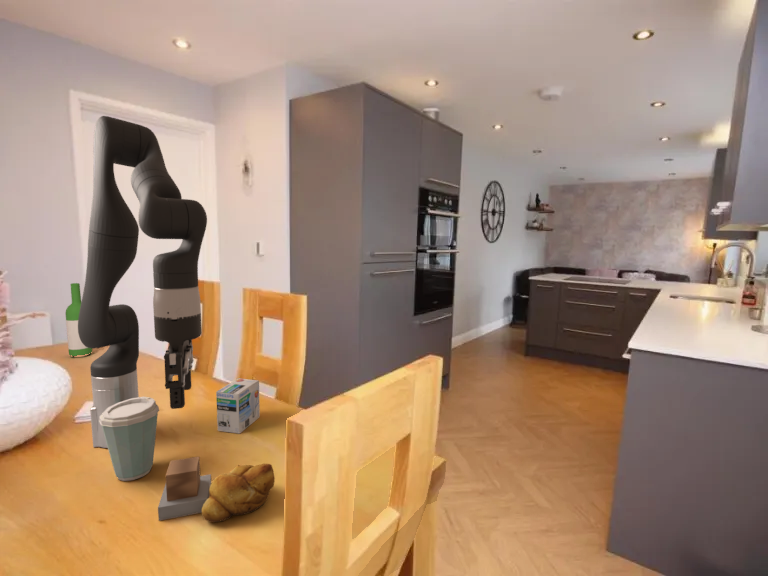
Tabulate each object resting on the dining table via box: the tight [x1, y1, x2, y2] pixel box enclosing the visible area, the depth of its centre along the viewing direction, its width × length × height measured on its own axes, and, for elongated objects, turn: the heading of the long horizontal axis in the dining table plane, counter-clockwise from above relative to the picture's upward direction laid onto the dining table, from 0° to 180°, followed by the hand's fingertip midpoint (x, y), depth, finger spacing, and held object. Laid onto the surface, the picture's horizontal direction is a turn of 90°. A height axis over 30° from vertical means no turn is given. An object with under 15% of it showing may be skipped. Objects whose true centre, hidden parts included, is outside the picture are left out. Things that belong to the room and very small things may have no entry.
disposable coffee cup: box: [99, 396, 160, 482], centre depth 84 cm, size 11×11×15 cm
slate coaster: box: [157, 474, 212, 521], centre depth 76 cm, size 8×8×2 cm
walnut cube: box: [165, 456, 201, 501], centre depth 75 cm, size 5×5×5 cm
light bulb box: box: [215, 378, 261, 434], centre depth 107 cm, size 11×7×11 cm, turn 168°
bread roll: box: [201, 463, 276, 523], centre depth 75 cm, size 13×10×8 cm
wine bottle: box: [65, 282, 93, 356], centre depth 163 cm, size 8×8×30 cm
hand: (181, 398), depth 74 cm, fingers open, 8 cm apart
